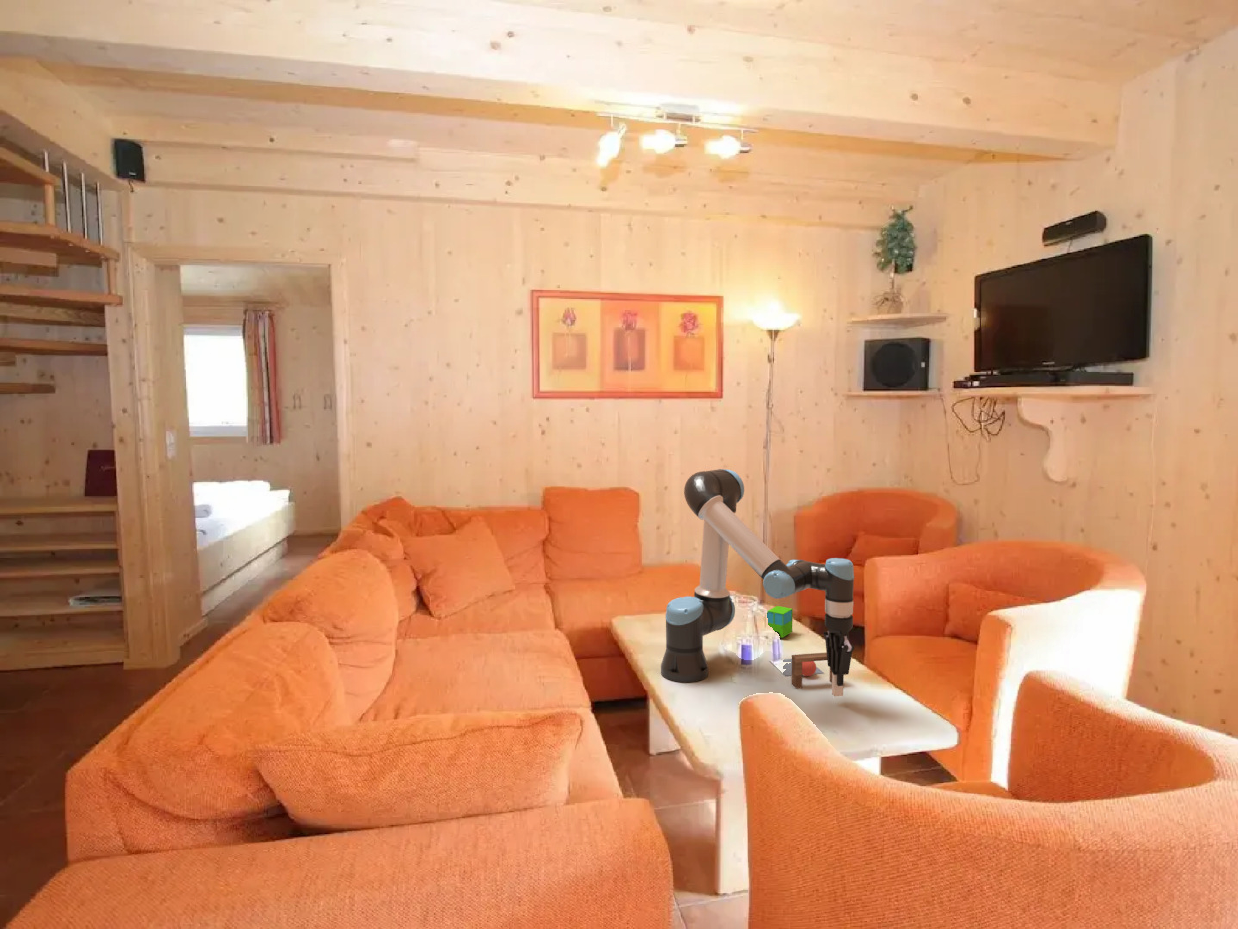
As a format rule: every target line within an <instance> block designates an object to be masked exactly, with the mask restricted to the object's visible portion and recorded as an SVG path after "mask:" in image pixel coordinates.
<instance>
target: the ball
mask: <svg viewBox="0 0 1238 929" xmlns="http://www.w3.org/2000/svg"><path fill="white" fill-rule="evenodd" d="M815 662H816V661H810V662H802V676H804V677H811V676H813V675H815V674H814V673H815V671H816V667H817V665H816V663H815Z"/></svg>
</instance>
